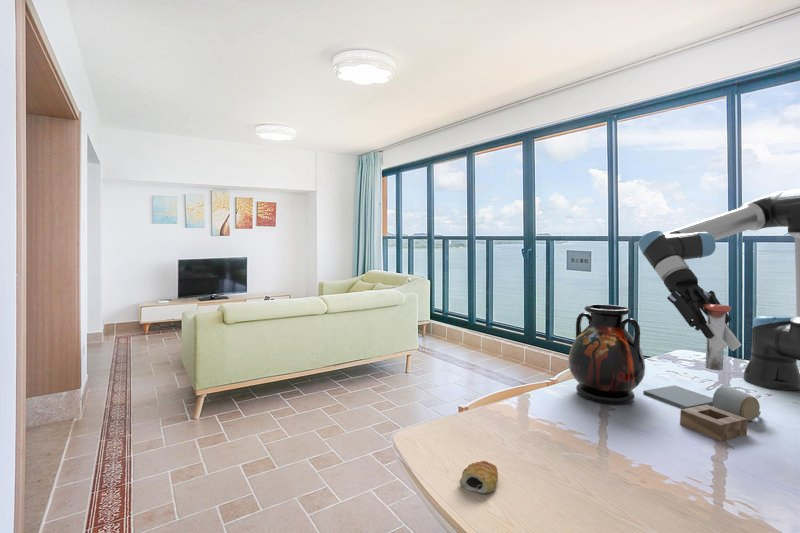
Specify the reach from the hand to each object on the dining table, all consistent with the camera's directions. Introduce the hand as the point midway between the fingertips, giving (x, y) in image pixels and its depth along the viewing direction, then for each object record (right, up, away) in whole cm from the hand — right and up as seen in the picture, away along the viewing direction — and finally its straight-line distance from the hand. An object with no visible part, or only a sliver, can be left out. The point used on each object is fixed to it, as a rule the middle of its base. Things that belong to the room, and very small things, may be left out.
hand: (729, 348), depth 105 cm
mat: (+5, -20, +26) cm, 33 cm away
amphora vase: (-17, -21, +28) cm, 39 cm away
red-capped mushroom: (-1, -6, +4) cm, 7 cm away
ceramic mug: (+13, -22, +13) cm, 28 cm away
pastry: (-65, -24, -19) cm, 72 cm away
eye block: (-1, -22, +4) cm, 22 cm away
